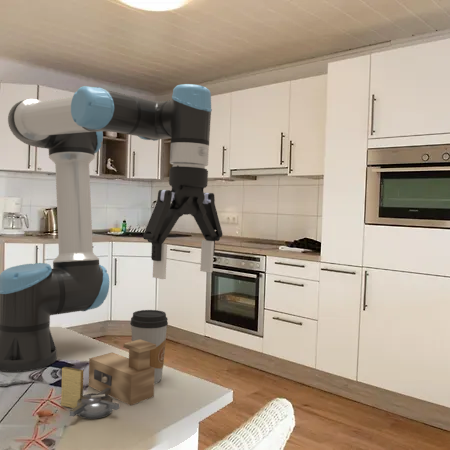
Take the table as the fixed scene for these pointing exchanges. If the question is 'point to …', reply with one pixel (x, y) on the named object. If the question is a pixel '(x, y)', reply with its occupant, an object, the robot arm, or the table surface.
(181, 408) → the table surface
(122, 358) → the wooden drawer box
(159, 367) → the coffee cup
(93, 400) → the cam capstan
